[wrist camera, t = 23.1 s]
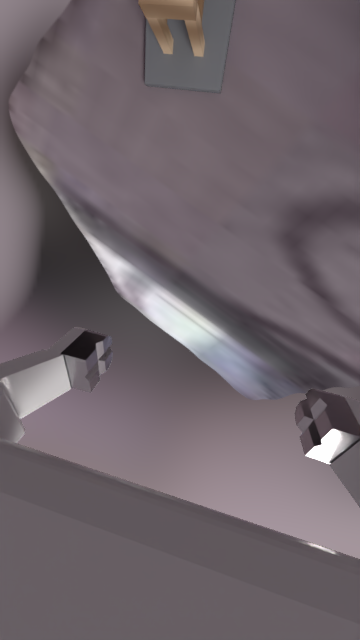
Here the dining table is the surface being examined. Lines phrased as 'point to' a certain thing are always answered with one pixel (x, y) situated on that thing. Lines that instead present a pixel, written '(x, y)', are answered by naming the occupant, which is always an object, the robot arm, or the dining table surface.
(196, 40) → the stool
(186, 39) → the mat
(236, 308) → the dining table surface
